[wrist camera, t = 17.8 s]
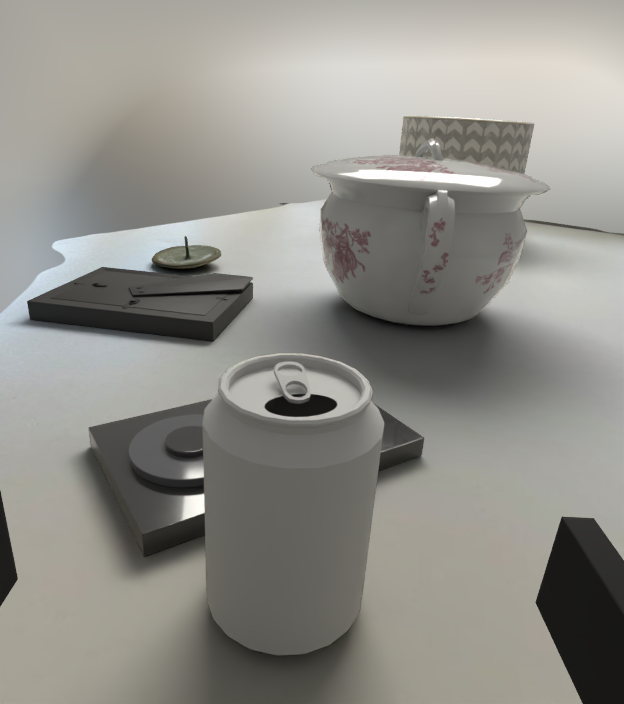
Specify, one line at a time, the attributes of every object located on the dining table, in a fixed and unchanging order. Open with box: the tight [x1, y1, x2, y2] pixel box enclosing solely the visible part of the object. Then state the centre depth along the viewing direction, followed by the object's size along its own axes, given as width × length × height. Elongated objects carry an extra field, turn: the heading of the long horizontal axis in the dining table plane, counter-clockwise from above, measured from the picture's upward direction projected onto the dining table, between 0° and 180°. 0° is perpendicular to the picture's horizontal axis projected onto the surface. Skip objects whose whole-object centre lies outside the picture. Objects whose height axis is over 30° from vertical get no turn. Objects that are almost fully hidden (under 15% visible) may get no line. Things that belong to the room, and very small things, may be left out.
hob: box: [89, 399, 424, 557], centre depth 38 cm, size 12×20×2 cm, turn 123°
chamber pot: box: [311, 138, 550, 326], centre depth 66 cm, size 28×27×21 cm
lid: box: [152, 236, 221, 269], centre depth 83 cm, size 11×10×5 cm
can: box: [203, 353, 384, 655], centre depth 24 cm, size 8×8×12 cm
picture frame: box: [27, 267, 253, 341], centre depth 64 cm, size 16×3×21 cm
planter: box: [399, 116, 534, 174], centre depth 112 cm, size 25×25×24 cm
